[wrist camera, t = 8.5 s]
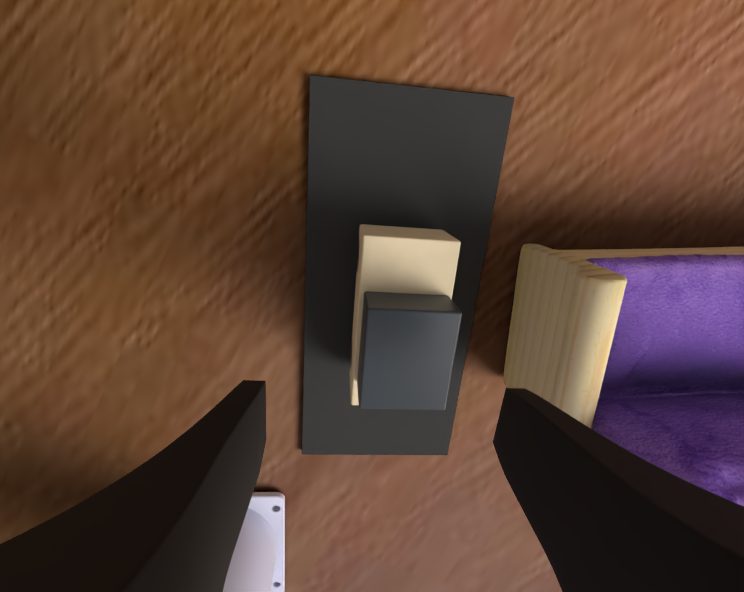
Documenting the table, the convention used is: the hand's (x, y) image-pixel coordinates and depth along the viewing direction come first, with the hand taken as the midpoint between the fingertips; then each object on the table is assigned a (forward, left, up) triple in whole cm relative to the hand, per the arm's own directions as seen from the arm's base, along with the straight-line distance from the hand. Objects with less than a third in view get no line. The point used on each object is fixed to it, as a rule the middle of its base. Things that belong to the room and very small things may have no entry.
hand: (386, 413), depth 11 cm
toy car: (0, -1, -9) cm, 9 cm away
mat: (0, -1, -9) cm, 9 cm away
